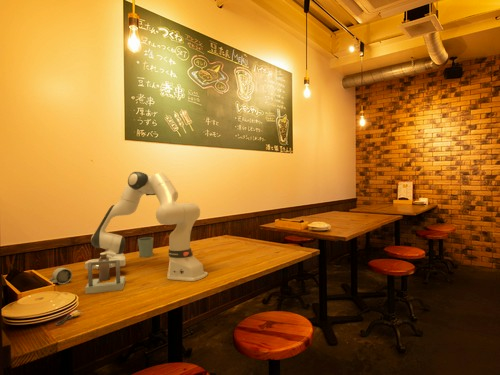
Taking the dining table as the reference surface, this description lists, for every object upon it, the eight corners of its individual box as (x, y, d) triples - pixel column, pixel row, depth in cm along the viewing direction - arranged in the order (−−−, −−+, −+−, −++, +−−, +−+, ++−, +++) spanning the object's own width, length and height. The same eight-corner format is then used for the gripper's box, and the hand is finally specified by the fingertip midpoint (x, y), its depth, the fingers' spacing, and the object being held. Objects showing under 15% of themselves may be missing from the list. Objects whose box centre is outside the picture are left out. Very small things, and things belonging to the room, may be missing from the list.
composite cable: (58, 327, 112) (58, 320, 112) (50, 325, 114) (49, 318, 114) (83, 316, 121) (83, 309, 121) (75, 314, 123) (74, 307, 123)
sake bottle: (111, 278, 166) (110, 252, 165) (103, 281, 161) (102, 254, 161) (105, 277, 168) (104, 251, 168) (97, 280, 164) (96, 253, 163)
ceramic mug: (67, 278, 167) (66, 264, 167) (72, 282, 161) (72, 267, 161) (44, 284, 159) (43, 269, 159) (49, 288, 154) (48, 272, 153)
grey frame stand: (90, 285, 156) (89, 257, 155) (125, 281, 160) (124, 254, 160) (85, 293, 144) (84, 263, 144) (122, 289, 149) (121, 260, 148)
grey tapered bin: (148, 258, 208) (148, 240, 208) (135, 257, 210) (134, 239, 210) (156, 254, 218) (155, 237, 218) (143, 254, 220) (142, 237, 220)
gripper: (87, 256, 174) (81, 262, 161) (126, 253, 180) (124, 259, 166) (87, 267, 174) (81, 274, 161) (127, 264, 180) (124, 270, 167)
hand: (103, 266), depth 164 cm, fingers closed on sake bottle, 5 cm apart
